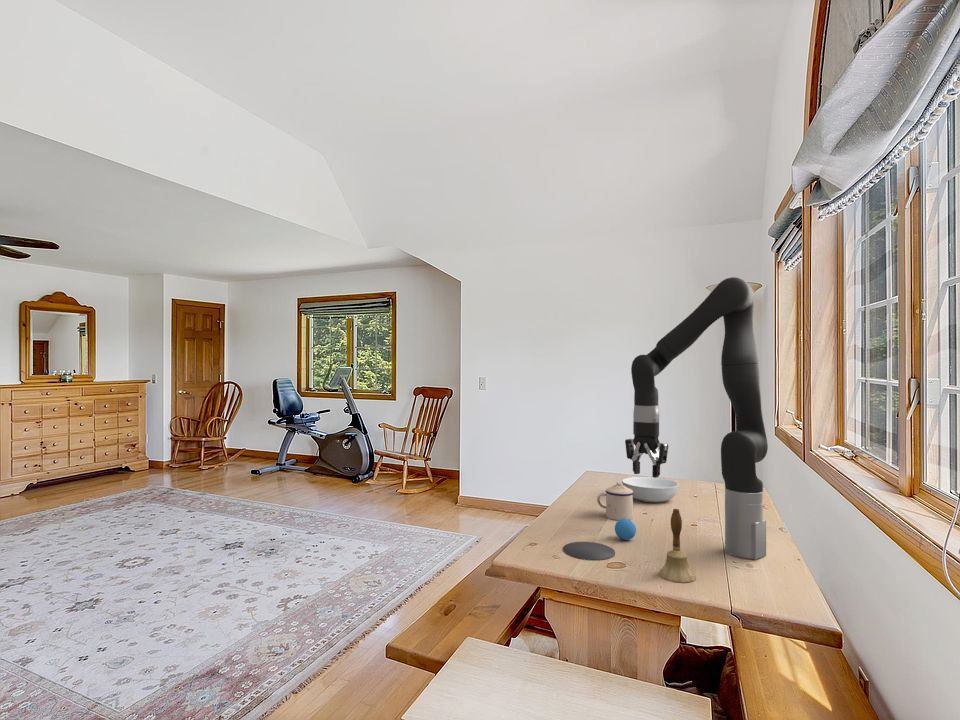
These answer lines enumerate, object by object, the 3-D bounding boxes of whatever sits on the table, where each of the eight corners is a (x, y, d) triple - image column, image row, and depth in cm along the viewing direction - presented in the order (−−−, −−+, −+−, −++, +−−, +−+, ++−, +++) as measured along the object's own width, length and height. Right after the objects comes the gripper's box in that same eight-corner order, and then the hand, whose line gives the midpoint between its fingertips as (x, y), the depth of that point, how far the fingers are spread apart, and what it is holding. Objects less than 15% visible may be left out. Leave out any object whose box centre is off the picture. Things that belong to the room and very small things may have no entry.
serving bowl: (675, 495, 205) (675, 478, 205) (681, 509, 185) (681, 489, 185) (621, 491, 211) (621, 474, 211) (621, 504, 191) (621, 485, 191)
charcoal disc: (626, 552, 139) (626, 552, 139) (591, 564, 131) (591, 563, 131) (586, 539, 151) (586, 538, 151) (552, 548, 142) (552, 548, 142)
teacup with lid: (635, 515, 176) (635, 481, 176) (630, 522, 168) (631, 486, 168) (600, 511, 181) (600, 477, 181) (594, 517, 173) (594, 482, 173)
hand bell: (654, 577, 123) (654, 510, 123) (663, 566, 130) (663, 503, 130) (691, 586, 118) (691, 516, 119) (698, 574, 125) (698, 508, 126)
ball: (640, 540, 150) (640, 519, 150) (627, 544, 146) (627, 523, 146) (623, 535, 155) (623, 514, 155) (610, 538, 151) (610, 518, 151)
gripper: (674, 421, 154) (674, 478, 153) (633, 417, 165) (633, 470, 165) (659, 422, 149) (659, 481, 149) (619, 419, 161) (618, 473, 160)
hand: (646, 475), depth 157 cm, fingers open, 6 cm apart
